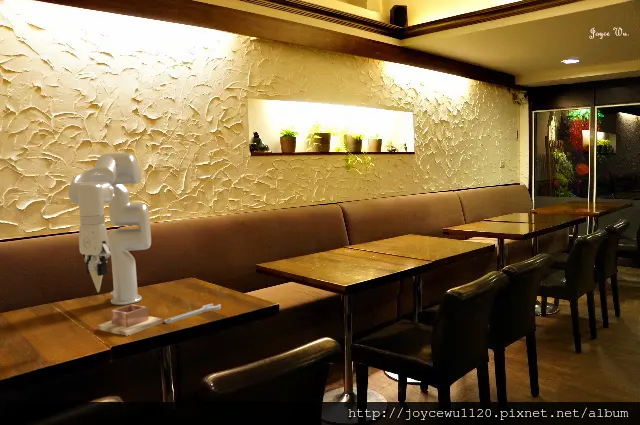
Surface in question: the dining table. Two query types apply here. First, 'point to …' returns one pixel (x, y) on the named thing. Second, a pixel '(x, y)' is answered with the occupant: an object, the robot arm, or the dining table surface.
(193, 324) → the dining table surface
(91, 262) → the ice cream cone
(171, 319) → the adjustable wrench
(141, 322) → the cone stand
